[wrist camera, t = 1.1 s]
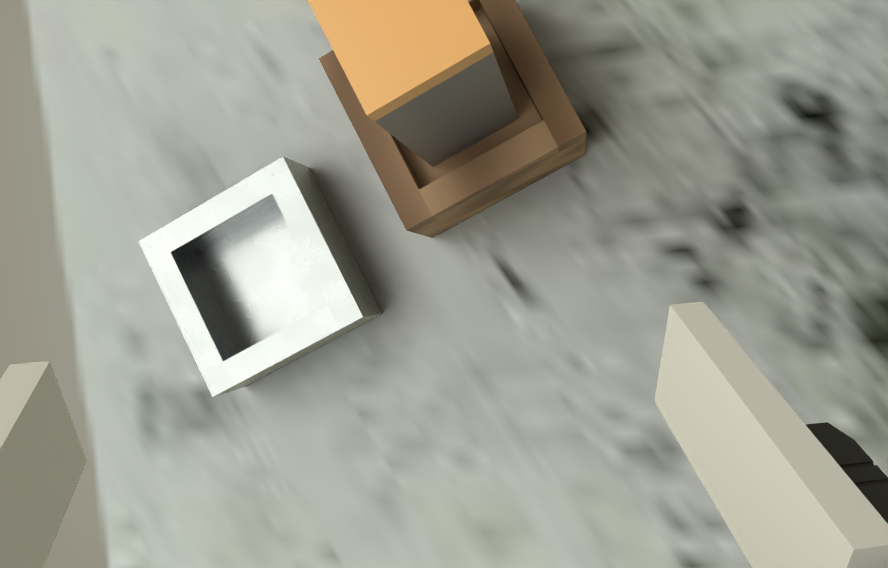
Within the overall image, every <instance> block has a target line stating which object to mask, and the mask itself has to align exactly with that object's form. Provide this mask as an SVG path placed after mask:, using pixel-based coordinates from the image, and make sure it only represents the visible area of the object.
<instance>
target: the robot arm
mask: <svg viewBox="0 0 888 568" xmlns="http://www.w3.org/2000/svg"><path fill="white" fill-rule="evenodd" d="M654 402H655V403H656V405H657V407H658V409H659V410H660V412H661V414H662V415H663V417H664V419H665V420H666V422H667V424H668V426H669V427H670V429H671V431H672V432H673V434H674V436H675V437H676V439H677V441H678V443H679V444H680V446H681V448H682V449H683V451H684V453H685V454H686V456H687V458H688V460H689V461H690V463H691V465H692V466H693V468H694V470H695V471H696V473H697V475H698V477H699V478H700V480H701V482H702V483H703V485H704V487H705V488H706V490H707V492H708V494H709V495H710V497H711V499H712V500H713V502H714V504H715V505H716V507H717V509H718V511H719V512H720V514H721V516H722V517H723V519H724V521H725V522H726V524H727V526H728V528H729V529H730V531H731V533H732V534H733V536H734V538H735V539H736V541H737V543H738V544H739V546H740V548H741V550H742V551H743V553H744V555H745V556H746V558H747V560H748V561H749V563H750V565H751V567H752V568H888V477H887V476H886V475H885V474H884V473H883V472H882V471H881V470H880V468H879V467H878V466H877V465H876V466H874V464H873V461H872V459H871V458H870V457H869V456H868V455H867V454H866V453H865V452H864V450H863V449H862V448H861V447H860V446H859V445H858V444H857V443H856V441H855V440H853V439H852V438H850V437H849V436H847V435H846V434H844V433H843V432H841V431H840V430H838V429H837V428H835V427H834V426H832V425H830V424H829V423H827V422H826V423H817V424H808V425H805V424H804V422H803V421H802V420H801V419H800V418H799V416H798V415H797V414H796V413H795V412H794V410H793V409H792V408H791V407H790V406H789V404H788V403H787V402H786V401H785V400H784V398H783V397H782V396H781V395H780V394H779V392H778V391H777V390H776V389H775V388H774V386H773V385H772V384H771V383H770V382H769V380H768V379H767V378H766V377H765V376H764V374H763V373H762V372H761V371H760V370H759V368H758V367H757V366H756V365H755V364H754V362H753V361H752V360H751V359H750V357H749V356H748V355H747V354H746V353H745V351H744V350H743V349H742V348H741V347H740V345H739V344H738V343H737V342H736V341H735V339H734V338H733V337H732V336H731V335H730V333H729V332H728V331H727V330H726V329H725V327H724V326H723V325H722V324H721V323H720V321H719V320H718V319H717V318H716V317H715V315H714V314H713V313H712V312H711V311H710V309H709V308H708V307H707V306H706V305H705V303H704V302H694V303H683V304H672V305H670V308H669V314H668V321H667V327H666V333H665V339H664V345H663V351H662V357H661V363H660V370H659V376H658V382H657V388H656V394H655V400H654ZM86 462H87V460H86V457H85V455H84V452H83V449H82V447H81V444H80V441H79V439H78V436H77V433H76V430H75V428H74V425H73V422H72V420H71V417H70V415H69V412H68V409H67V406H66V403H65V401H64V398H63V396H62V393H61V390H60V387H59V385H58V382H57V379H56V377H55V374H54V371H53V368H52V366H51V363H50V361H45V362H35V363H23V364H13V365H10V366H9V367H8V369H7V370H6V372H5V374H4V375H3V377H2V378H1V380H0V568H43V567H44V564H45V562H46V559H47V557H48V555H49V552H50V549H51V547H52V545H53V542H54V540H55V537H56V535H57V533H58V530H59V528H60V525H61V523H62V520H63V518H64V515H65V513H66V510H67V508H68V506H69V503H70V501H71V498H72V496H73V493H74V491H75V489H76V486H77V484H78V481H79V479H80V476H81V474H82V471H83V469H84V467H85V464H86Z"/></svg>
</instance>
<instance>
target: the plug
mask: <svg viewBox="0 0 888 568" xmlns="http://www.w3.org/2000/svg"><path fill="white" fill-rule="evenodd" d="M308 2H309V4H310V6H311V8H312V10H313V12H314V14H315V16H316V18H317V20H318V22H319V23H320V25H321V27H322V29H323V31H324V33H325V35H326V37H327V39H328V41H329V43H330V45H331V47H332V49H333V51H334V53H335V55H336V57H337V59H338V60H339V62H340V64H341V66H342V68H343V70H344V72H345V74H346V76H347V78H348V80H349V82H350V84H351V86H352V88H353V90H354V92H355V94H356V96H357V98H358V99H359V101H360V103H361V105H362V107H363V109H364V111H365V113H366V115H367V116H368V117H369V118H371V119H372V120H373V121H374V122H376V123H377V124H378V125H380V126H381V127H382V128H383V129H385V130H386V131H387V132H389V133H390V134H391V135H392V136H394V137H395V138H396V139H398V140H399V141H400V142H401V143H403V144H404V145H405V146H407V147H408V148H409V149H410V150H412V151H413V152H414V153H416V154H417V155H418V156H419V157H421V158H422V159H423V160H425V161H426V162H427V163H428V164H430V165H431V166H432V167H434V166H436V165H438V164H439V163H441V162H443V161H445V160H447V159H448V158H450V157H452V156H454V155H455V154H457V153H459V152H461V151H463V150H464V149H466V148H468V147H470V146H472V145H473V144H475V143H477V142H479V141H480V140H482V139H484V138H486V137H488V136H489V135H491V134H493V133H495V132H496V131H498V130H500V129H502V128H504V127H505V126H507V125H509V124H511V123H513V122H514V121H516V120H518V117H517V114H516V111H515V109H514V106H513V103H512V100H511V98H510V95H509V92H508V90H507V87H506V84H505V82H504V79H503V76H502V74H501V71H500V68H499V66H498V63H497V60H496V58H495V55H494V52H493V50H492V47H491V44H490V42H489V40H488V38H487V36H486V35H485V33H484V31H483V29H482V27H481V25H480V23H479V21H478V20H477V18H476V16H475V14H474V12H473V10H472V8H471V6H470V5H469V3H468V1H467V0H308Z"/></svg>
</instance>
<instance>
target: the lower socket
mask: <svg viewBox="0 0 888 568" xmlns="http://www.w3.org/2000/svg"><path fill="white" fill-rule="evenodd" d="M139 244H140V246H141V248H142V250H143V252H144V254H145V256H146V258H147V260H148V262H149V265H150V267H151V269H152V271H153V273H154V275H155V277H156V279H157V281H158V283H159V286H160V288H161V290H162V292H163V294H164V296H165V298H166V300H167V302H168V304H169V307H170V309H171V311H172V313H173V315H174V317H175V319H176V321H177V323H178V325H179V328H180V330H181V332H182V334H183V336H184V338H185V340H186V342H187V344H188V346H189V349H190V351H191V353H192V355H193V357H194V359H195V361H196V363H197V365H198V367H199V369H200V372H201V374H202V376H203V378H204V380H205V382H206V384H207V386H208V388H209V390H210V393H211V395H212V397H214V396H217V395H220V394H224V393H227V392H230V391H233V390H236V389H239V388H242V387H245V386H247V385H249V384H251V383H253V382H255V381H256V380H258V379H260V378H262V377H264V376H266V375H268V374H270V373H272V372H273V371H275V370H277V369H279V368H281V367H283V366H285V365H287V364H289V363H290V362H292V361H294V360H296V359H298V358H300V357H302V356H304V355H306V354H307V353H309V352H311V351H313V350H315V349H317V348H319V347H321V346H323V345H324V344H326V343H328V342H330V341H332V340H334V339H336V338H338V337H340V336H341V335H343V334H345V333H347V332H349V331H351V330H353V329H355V328H357V327H358V326H360V325H362V324H364V323H366V322H368V321H370V320H372V319H373V318H375V317H377V316H379V315H381V314H382V312H381V310H380V308H379V306H378V304H377V302H376V300H375V298H374V296H373V294H372V292H371V290H370V288H369V286H368V284H367V282H366V280H365V278H364V276H363V274H362V272H361V270H360V268H359V266H358V264H357V262H356V260H355V258H354V256H353V254H352V252H351V250H350V248H349V246H348V244H347V242H346V240H345V238H344V236H343V234H342V232H341V230H340V228H339V226H338V224H337V222H336V220H335V218H334V216H333V214H332V212H331V210H330V208H329V206H328V204H327V202H326V200H325V198H324V196H323V194H322V192H321V190H320V188H319V186H318V184H317V182H316V180H315V178H314V176H313V174H312V172H311V170H310V168H309V167H306V166H304V165H302V164H299V163H297V162H294V161H292V160H290V159H287V158H285V157H281V158H280V159H278V160H276V161H275V162H273V163H271V164H270V165H268V166H266V167H264V168H263V169H261V170H259V171H258V172H256V173H254V174H253V175H251V176H249V177H247V178H246V179H244V180H242V181H241V182H239V183H237V184H235V185H234V186H232V187H230V188H229V189H227V190H225V191H224V192H222V193H220V194H218V195H217V196H215V197H213V198H212V199H210V200H208V201H207V202H205V203H203V204H201V205H200V206H198V207H196V208H195V209H193V210H191V211H189V212H188V213H186V214H184V215H183V216H181V217H179V218H178V219H176V220H174V221H172V222H171V223H169V224H167V225H166V226H164V227H162V228H160V229H159V230H157V231H155V232H154V233H152V234H150V235H149V236H147V237H145V238H143V239H142V240H140V241H139Z"/></svg>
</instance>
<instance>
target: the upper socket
mask: <svg viewBox="0 0 888 568" xmlns="http://www.w3.org/2000/svg"><path fill="white" fill-rule="evenodd" d="M467 1H468V3H469V5H470V6H471V8H472V10H473V12H474V14H475V16H476V18H477V20H478V21H479V23H480V25H481V27H482V29H483V31H484V33H485V35H486V36H487V38H488V40H489V42H490V44H491V47H492V50H493V52H494V55H495V58H496V60H497V63H498V66H499V68H500V71H501V74H502V76H503V79H504V82H505V84H506V87H507V90H508V92H509V95H510V98H511V100H512V103H513V106H514V109H515V111H516V114H517V117H518V120H516V121H514V122H513V123H511V124H509V125H507V126H505V127H504V128H502V129H500V130H498V131H496V132H495V133H493V134H491V135H489V136H488V137H486V138H484V139H482V140H480V141H479V142H477V143H475V144H473V145H472V146H470V147H468V148H466V149H464V150H463V151H461V152H459V153H457V154H455V155H454V156H452V157H450V158H448V159H447V160H445V161H443V162H441V163H439V164H438V165H436V166H434V167H432V166H431V165H430V164H428V163H427V162H426V161H425V160H423V159H422V158H421V157H419V156H418V155H417V154H416V153H414V152H413V151H412V150H410V149H409V148H408V147H407V146H405V145H404V144H403V143H401V142H400V141H399V140H398V139H396V138H395V137H394V136H392V135H391V134H390V133H389V132H387V131H386V130H385V129H383V128H382V127H381V126H380V125H378V124H377V123H376V122H374V121H373V120H372V119H371V118H369V117H368V116H367V115H366V113H365V111H364V109H363V107H362V105H361V103H360V101H359V99H358V98H357V96H356V94H355V92H354V90H353V88H352V86H351V84H350V82H349V80H348V78H347V76H346V74H345V72H344V70H343V68H342V66H341V64H340V62H339V60H338V59H337V57H336V55H335V53H334V51H333V50H332V51H331V52H329V53H327V54H326V55H324V56H322V57H321V58H319V60H320V62H321V64H322V66H323V68H324V70H325V72H326V74H327V76H328V78H329V80H330V82H331V84H332V85H333V87H334V89H335V91H336V93H337V95H338V97H339V99H340V101H341V103H342V105H343V107H344V109H345V111H346V113H347V115H348V117H349V119H350V121H351V123H352V125H353V127H354V129H355V130H356V132H357V134H358V136H359V138H360V140H361V142H362V144H363V146H364V148H365V150H366V152H367V154H368V156H369V158H370V160H371V162H372V164H373V166H374V168H375V170H376V172H377V174H378V176H379V177H380V179H381V181H382V183H383V185H384V187H385V189H386V191H387V193H388V195H389V197H390V199H391V201H392V203H393V205H394V207H395V209H396V211H397V213H398V215H399V217H400V219H401V221H402V223H403V224H404V226H405V228H406V230H407V231H411V232H414V233H418V234H421V235H425V236H428V237H431V238H433V237H434V236H436V235H438V234H440V233H442V232H444V231H445V230H447V229H449V228H451V227H453V226H455V225H457V224H458V223H460V222H462V221H464V220H466V219H468V218H469V217H471V216H473V215H475V214H477V213H479V212H480V211H482V210H484V209H486V208H488V207H490V206H492V205H493V204H495V203H497V202H499V201H501V200H503V199H504V198H506V197H508V196H510V195H512V194H514V193H515V192H517V191H519V190H521V189H523V188H525V187H527V186H528V185H530V184H532V183H534V182H536V181H538V180H539V179H541V178H543V177H545V176H547V175H549V174H550V173H552V172H554V171H556V170H558V169H560V168H562V167H563V166H565V165H567V164H569V163H571V162H573V161H574V160H576V159H578V158H580V157H582V156H584V155H585V147H586V130H585V128H584V126H583V125H582V123H581V121H580V119H579V117H578V115H577V114H576V112H575V110H574V108H573V106H572V104H571V102H570V101H569V99H568V97H567V95H566V93H565V91H564V89H563V88H562V86H561V84H560V82H559V80H558V78H557V76H556V75H555V73H554V71H553V69H552V67H551V65H550V64H549V62H548V60H547V58H546V56H545V54H544V52H543V51H542V49H541V47H540V45H539V43H538V41H537V39H536V38H535V36H534V34H533V32H532V30H531V28H530V26H529V25H528V23H527V21H526V19H525V17H524V15H523V14H522V12H521V10H520V8H519V6H518V4H517V2H516V1H515V0H467Z"/></svg>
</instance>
